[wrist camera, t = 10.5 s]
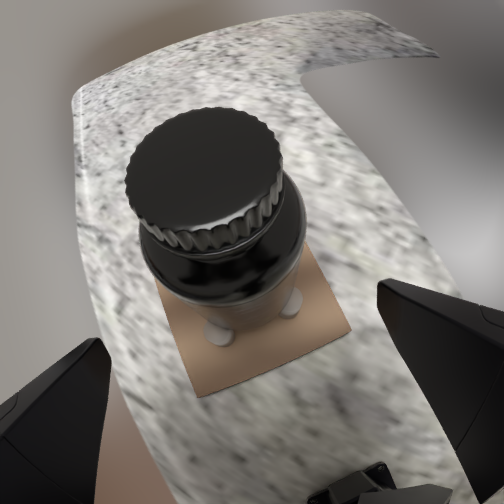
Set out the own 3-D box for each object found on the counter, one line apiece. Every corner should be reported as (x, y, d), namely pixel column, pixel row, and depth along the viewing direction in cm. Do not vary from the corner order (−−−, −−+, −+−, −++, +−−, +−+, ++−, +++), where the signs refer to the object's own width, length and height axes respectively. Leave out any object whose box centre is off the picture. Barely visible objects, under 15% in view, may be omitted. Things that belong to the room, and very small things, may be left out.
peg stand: (348, 332, 21) (363, 323, 18) (200, 397, 20) (185, 401, 17) (281, 204, 26) (281, 177, 22) (152, 259, 25) (132, 239, 21)
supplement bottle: (169, 278, 20) (67, 169, 9) (244, 214, 21) (217, 66, 10) (237, 356, 17) (174, 327, 6) (317, 281, 19) (366, 156, 8)
